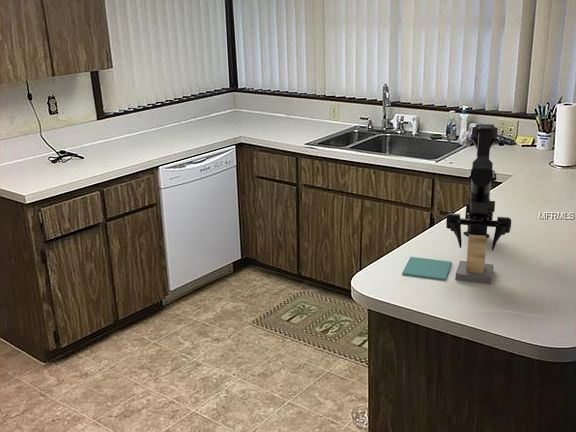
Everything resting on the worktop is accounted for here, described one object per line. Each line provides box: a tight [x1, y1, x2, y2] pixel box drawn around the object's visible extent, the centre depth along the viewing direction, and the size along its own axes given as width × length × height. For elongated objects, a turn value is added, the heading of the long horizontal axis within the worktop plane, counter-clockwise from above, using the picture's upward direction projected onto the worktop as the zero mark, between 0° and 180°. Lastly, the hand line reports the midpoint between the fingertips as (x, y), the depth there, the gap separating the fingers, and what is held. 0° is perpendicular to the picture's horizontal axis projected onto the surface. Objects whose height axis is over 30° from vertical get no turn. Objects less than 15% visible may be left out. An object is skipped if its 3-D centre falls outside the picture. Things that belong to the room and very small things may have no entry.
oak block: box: [466, 235, 487, 273], centre depth 189 cm, size 5×5×10 cm
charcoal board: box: [454, 260, 494, 285], centre depth 191 cm, size 10×10×2 cm
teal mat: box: [401, 256, 452, 281], centre depth 196 cm, size 13×13×1 cm
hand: (476, 248), depth 189 cm, fingers open, 9 cm apart
